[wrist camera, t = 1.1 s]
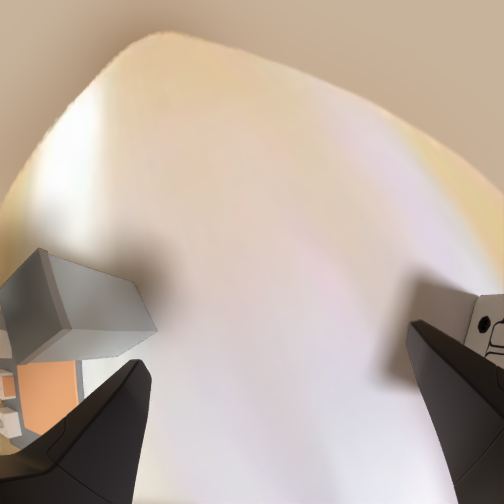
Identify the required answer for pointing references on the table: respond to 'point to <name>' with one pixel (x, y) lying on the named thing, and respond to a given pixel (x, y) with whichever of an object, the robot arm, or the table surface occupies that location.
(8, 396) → the board
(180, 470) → the table surface
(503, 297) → the electrical switch
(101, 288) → the cap
